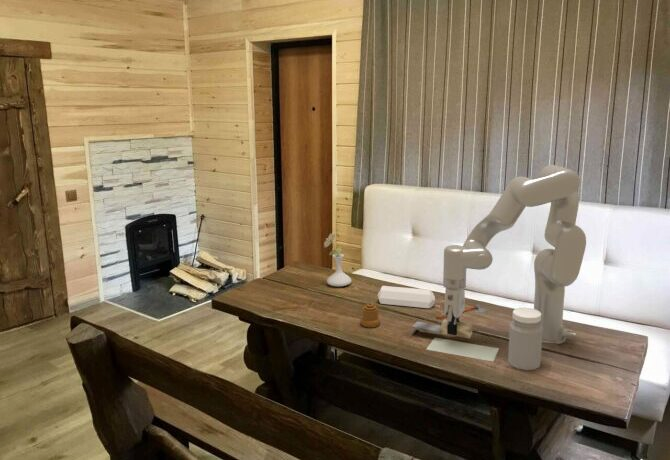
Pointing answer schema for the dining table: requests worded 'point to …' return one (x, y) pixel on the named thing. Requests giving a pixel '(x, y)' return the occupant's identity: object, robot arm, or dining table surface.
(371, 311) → the ornamental finial
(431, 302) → the crystal
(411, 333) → the wood plank
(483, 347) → the board
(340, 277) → the flower in vase
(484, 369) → the dining table surface
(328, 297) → the dining table surface
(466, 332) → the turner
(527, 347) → the jar
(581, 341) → the dining table surface
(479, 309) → the axe
